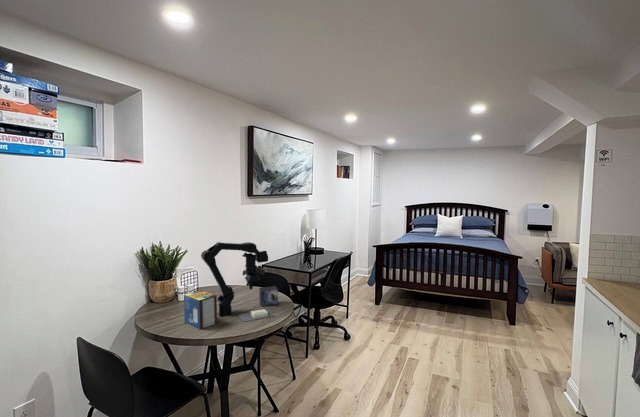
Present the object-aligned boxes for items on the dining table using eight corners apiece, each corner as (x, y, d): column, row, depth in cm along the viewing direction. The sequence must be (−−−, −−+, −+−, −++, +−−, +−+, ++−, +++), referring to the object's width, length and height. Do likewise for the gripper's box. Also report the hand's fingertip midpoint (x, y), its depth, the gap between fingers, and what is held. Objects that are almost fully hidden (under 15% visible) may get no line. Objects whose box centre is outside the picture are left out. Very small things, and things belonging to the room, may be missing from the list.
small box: (261, 307, 207) (261, 290, 206) (259, 304, 213) (258, 287, 212) (278, 305, 211) (278, 288, 210) (275, 302, 217) (275, 285, 216)
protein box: (201, 317, 190) (201, 290, 190) (217, 323, 180) (217, 295, 180) (184, 322, 182) (183, 294, 181) (199, 330, 172) (199, 299, 172)
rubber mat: (243, 322, 183) (243, 321, 183) (238, 315, 193) (238, 314, 193) (275, 316, 191) (275, 315, 191) (268, 310, 201) (268, 309, 201)
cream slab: (250, 314, 192) (253, 318, 187) (250, 311, 192) (253, 314, 187) (264, 312, 196) (267, 315, 191) (264, 309, 196) (267, 312, 190)
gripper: (268, 265, 197) (268, 291, 198) (259, 259, 214) (260, 284, 215) (249, 267, 192) (249, 294, 193) (242, 261, 209) (242, 286, 210)
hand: (251, 289), depth 203 cm, fingers closed
